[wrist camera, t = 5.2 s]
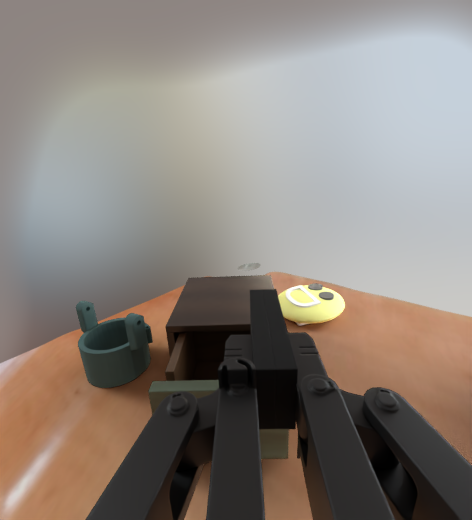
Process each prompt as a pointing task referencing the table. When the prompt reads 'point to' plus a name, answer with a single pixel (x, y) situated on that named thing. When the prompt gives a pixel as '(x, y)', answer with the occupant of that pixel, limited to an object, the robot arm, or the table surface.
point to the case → (214, 305)
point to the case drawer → (208, 379)
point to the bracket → (113, 347)
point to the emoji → (310, 304)
